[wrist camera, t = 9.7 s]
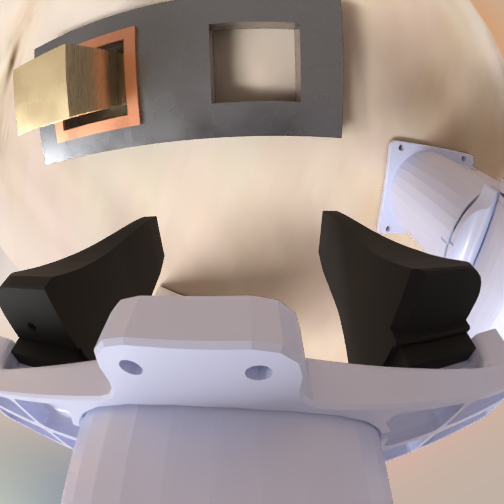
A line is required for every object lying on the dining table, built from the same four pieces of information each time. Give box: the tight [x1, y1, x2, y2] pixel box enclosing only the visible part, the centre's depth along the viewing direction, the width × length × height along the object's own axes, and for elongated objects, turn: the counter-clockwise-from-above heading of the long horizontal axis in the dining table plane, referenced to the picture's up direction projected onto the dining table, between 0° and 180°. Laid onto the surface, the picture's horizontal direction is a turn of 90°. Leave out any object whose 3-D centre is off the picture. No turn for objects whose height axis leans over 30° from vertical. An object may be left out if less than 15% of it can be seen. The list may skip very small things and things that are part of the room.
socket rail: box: [35, 0, 343, 165], centre depth 15 cm, size 22×10×2 cm, turn 91°
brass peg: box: [13, 44, 127, 135], centre depth 12 cm, size 4×4×8 cm
